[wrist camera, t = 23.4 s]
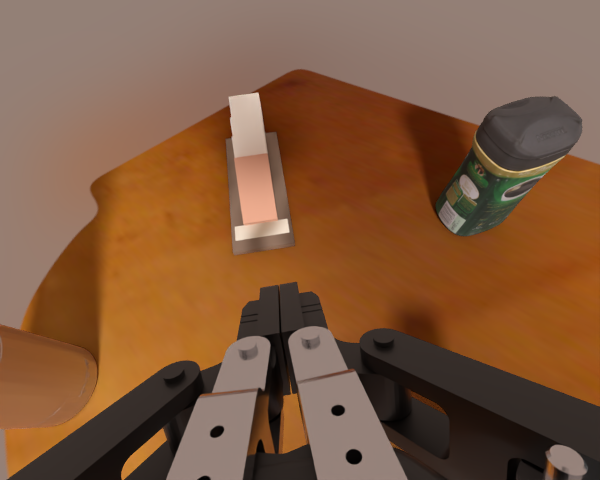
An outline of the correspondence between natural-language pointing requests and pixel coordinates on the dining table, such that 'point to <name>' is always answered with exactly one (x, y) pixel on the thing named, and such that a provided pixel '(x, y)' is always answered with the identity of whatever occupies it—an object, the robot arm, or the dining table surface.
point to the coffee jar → (507, 162)
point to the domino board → (281, 230)
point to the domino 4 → (255, 189)
